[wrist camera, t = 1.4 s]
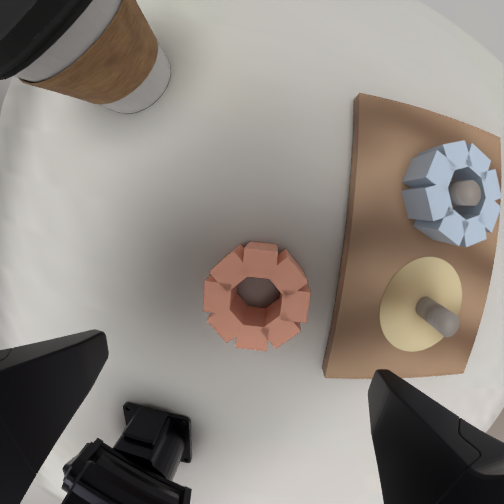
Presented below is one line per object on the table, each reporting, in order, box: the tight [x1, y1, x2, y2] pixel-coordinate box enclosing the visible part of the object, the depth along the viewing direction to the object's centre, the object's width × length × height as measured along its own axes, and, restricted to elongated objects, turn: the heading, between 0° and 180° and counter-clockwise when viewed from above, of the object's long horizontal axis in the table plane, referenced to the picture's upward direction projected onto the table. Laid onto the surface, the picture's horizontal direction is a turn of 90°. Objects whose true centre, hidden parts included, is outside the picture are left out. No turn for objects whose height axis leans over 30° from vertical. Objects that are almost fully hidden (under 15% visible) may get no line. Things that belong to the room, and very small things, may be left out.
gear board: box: [322, 93, 501, 379], centre depth 17 cm, size 20×13×6 cm, turn 175°
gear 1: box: [203, 241, 311, 351], centre depth 19 cm, size 6×6×4 cm
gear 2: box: [401, 140, 502, 247], centre depth 16 cm, size 6×6×4 cm
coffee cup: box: [0, 0, 171, 114], centre depth 12 cm, size 8×8×15 cm
